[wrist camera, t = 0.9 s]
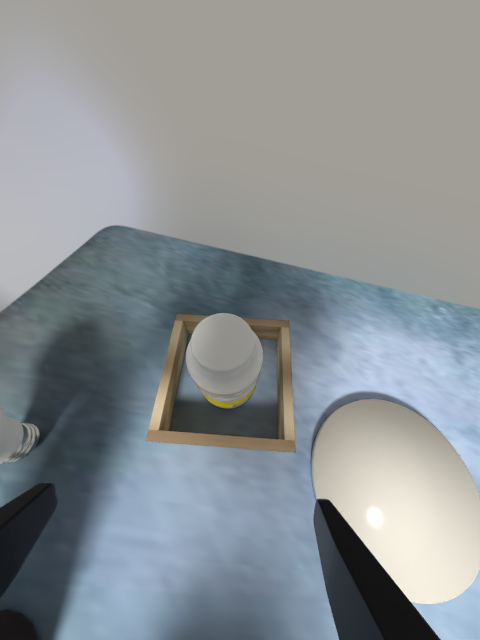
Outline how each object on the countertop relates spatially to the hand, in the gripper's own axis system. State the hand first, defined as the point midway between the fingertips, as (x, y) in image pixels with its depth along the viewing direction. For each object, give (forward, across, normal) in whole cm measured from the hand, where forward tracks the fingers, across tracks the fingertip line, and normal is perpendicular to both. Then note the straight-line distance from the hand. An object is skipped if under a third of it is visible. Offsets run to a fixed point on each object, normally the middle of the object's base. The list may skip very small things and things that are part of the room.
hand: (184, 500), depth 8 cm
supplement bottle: (+15, 0, +3) cm, 15 cm away
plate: (+10, -15, +9) cm, 20 cm away
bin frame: (+15, 0, +3) cm, 15 cm away
